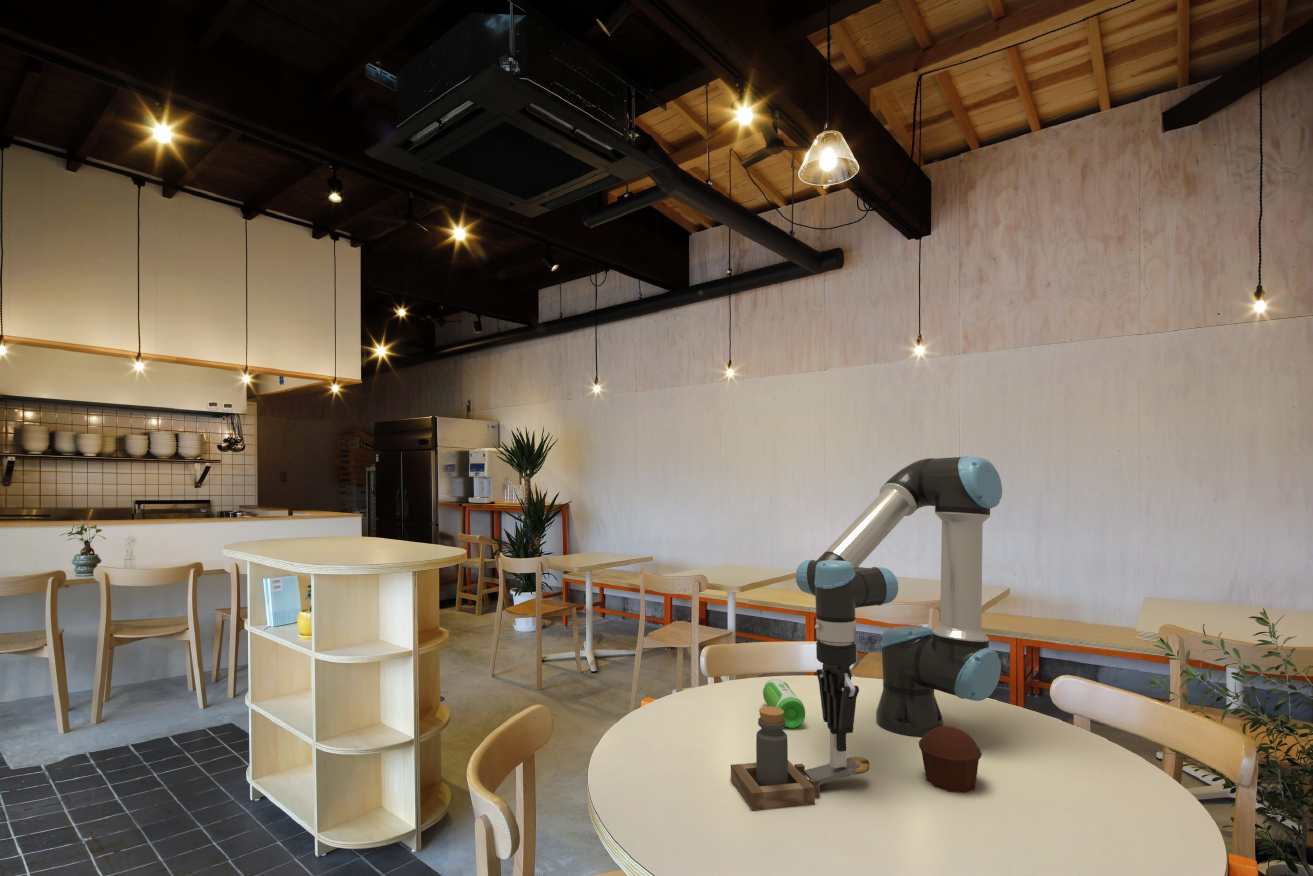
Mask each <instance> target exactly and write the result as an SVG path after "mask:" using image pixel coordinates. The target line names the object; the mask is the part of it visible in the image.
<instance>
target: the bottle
mask: <svg viewBox="0 0 1313 876" xmlns="http://www.w3.org/2000/svg"><path fill="white" fill-rule="evenodd" d="M758 712H759V716H760V717H758V719H757V724H758V726H759V727H760V729H759V730H758V731H756V735H755V736H756V739H755V740H756V742H755V743H756V745H755V746H756V747H755V748H756V749H755V754H756V758H755V759H756V762H755V763H756V780H757V784H758V786H759V787H760V786H771V785H781V784H788V760H789V757H788V754H789V752H788V751H789V750H788V749H789V748H788V744H789V743H788V734H787V733H786V731H784V730H783V729H784V728H786V726H785V720H784V719H783V716H784V710H783V709H781V708H778V707H770V706H763V707H760V708H759V709H758Z"/></svg>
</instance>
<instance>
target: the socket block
mask: <svg viewBox="0 0 1313 876" xmlns="http://www.w3.org/2000/svg"><path fill="white" fill-rule="evenodd" d="M805 767H806V766H805V764H803V763H795V764H793V763H792V762H791V761H790V760H789V759H788V784H781V785H771V786H760V787H759V786H758V784H757V780H756V762H750V763H749V762H747V763H736V764H734V763H733V764H730V782H731V783H732V784H733V786H734V787H735V789H736V791H737V792H738V793H739V794H740V796H741V797H742V799H743V800H744V802H745V803H746V804H747V806H748V807H749V809H750V810H751V811H752V812H754V811H763V810H775V809H781V808H782V809H783V808H785V809H786V808H792V807H803V806H811V805H816V799H819V798H820V785H819V780H818V779H817V778H811V779H809V781H808V780H807V779H806V778H805V777H804V776H803V775H802V774H801V773H800V772H801V771H803V772H804V770H806V769H805Z"/></svg>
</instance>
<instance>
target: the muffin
mask: <svg viewBox="0 0 1313 876" xmlns="http://www.w3.org/2000/svg"><path fill="white" fill-rule="evenodd" d="M918 747H919V749H920V752H921V757H922V762H923V767H924V774H925V779H926V782H928V783H929V784H931V785H932V786H933V787H934V788H937V789H941V790H943V791H946V792H949V793H960V794H961V793H962V794H966V793H969V792H973V791H975V790H976V783H977V777H978V769H979V768H978V767H979V761H980V759H981V758H982V755H983V753H982V751H981V748H980V746H979V745H978V743H977V742H976V741H975V739H974V738H973V737H972V736H970V735H969V734H968V733H966V732H964V731H963V730H962V729H960V728H957V727H955V726H954V727H953V726H950V725H949V726H947V725H945V726H944V725H943V726H940V727H936V728H933V729H932V730H930V731H928V732H927V733H926V734H925V735H924V736H921V738H920V739H919V741H918Z"/></svg>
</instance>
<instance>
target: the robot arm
mask: <svg viewBox="0 0 1313 876" xmlns="http://www.w3.org/2000/svg"><path fill="white" fill-rule="evenodd" d="M1002 496H1003V485H1002V481H1001V476H1000V474H999V472H998V470H997V469H996V467H995V465H994V464H993V463H992V462H991V461H989V460H988V459H986V458H984V457H980V456H958V457H956V456H955V457H940V458H939V457H938V458H937V457H935V458H932V457H930V458H923V459H919V460H916V461H914V462H912V463H910V464H909V465H907V466H905V467H904V468H902V469H900V470H899V471H897V472H896V473H895V474H894V475H893V476H891V477H890V478H889V479H888V480H887V481H886V482H885V483H883V485H881V487H880V489H879V495H878V496H877V497H876V498H875V499H874V500H873V501H872V502H871V503H870V504H869V506H868V507H866V508H865V509H864V511H863V512H862V513H861V514H860V515H859V516H858V517H857V518H856V519H855V520H854V521H853V522H852V523H851V524H850V525H849V526H848V527H847V529H845V530H844V532H842V534H840V536H838V538H837V539H836V540H835V541H834V542H833V543H832V544H830V546H829V547H828V548H827V549H826V550H825V551H824V552H823V553H822V554H821V555H820V556H819V557H818V558H817V559H816V560H815V559H810V560H805V561H804V560H803V561H802V562H801V563H800V564H799V565H798V566H797V568H796V572H795V581H796V584H797V587H798V588H799V589H800V590H801V592H803V593H806V594H808V595H811V596H815V598H814V599H815V618H816V619H815V623H816V624H814V629H815V630H816V638H817V641H816V647H815V649H816V659H817V661H818V662H820V663H821V664H822V668H821V669H816V671H815V672H816V675H817V676H816V677H817V680H818V685H819V694H820V702H821V704H820V705H821V712H822V720H823V722H824V723H827V725H826V726H827V728H828V729H829V764H830V765H831V766H832V767H833V768H840V767H847V758H848V757H847V755H848V753H847V734H852V733H854V725H855V714H856V704H857V697H858V694H859V692H860V688H859V686H858V685H854V683H853V681H852V673H851V666H852V665H855V664H856V662H857V645H856V644H855V641H857V633H856V631H857V629H856V627H857V625H856V622H857V621H856V609H858V608H864V607H865V608H866V607H872V606H873V607H875V606H878V607H879V606H880V607H881V606H883V605H885V604H890V603H891V602H893V601H894V600H895V599H896V598H897V596H898V594H899V581H898V579H897V576H896V575H895V573H894V572H892V570H890V569H889V568H886V567H881V566H880V567H879V566H873V567H862V566H861V564H862V563H863V562H864V561H865V560H866V559H867V558H868V557H869V556H870V554H872V552H873V551H874V550H875V549H876V548H877V547H878V546H879V545H880V544H881V542H883V541H884V539H885V538H886V537H887V536H888V535H889V534H890V533H891V532H892V530H894V528H896V526H898V524H899V523H900V522H901V521H902V520H903V519H904V517H908V516H911V515H913V514H914V513H915V512H916V511H917V510H918V509H921V508H924V507H934V514H935V515H936V516H937V517H938V518H939V519H940V520H941V547H940V548H941V549H940V550H941V551H940V553H941V555H940V556H941V557H940V599H939V600H940V603H939V604H940V609H939V625H938V626H937V627H936V628H935V629H934V630H933V629H932V628H930V627H927V626H912V625H911V626H895V627H890V628H887V629H885V630H884V631H883V632H882V637H881V638H882V641H881V643H882V645H881V654H882V655H881V661H882V662H881V663H882V687H883V688H882V692H881V696H880V699H879V701H878V704H877V708H876V711H875V712H876V713H875V714H876V719H875V720H876V723H877V724H878V725H879V726H880V727H882V728H884V729H885V730H888V731H890V732H893V733H897V734H901V735H907V736H912V737H923V736H924V735H925V734H926V733H927V732H928V731H930V730H932V729H933V728H936V727H940V726H944V719H943V716H942V713H941V709H940V707H939V704H938V702H937V699H936V695H935V691H939V692H941V693H945V694H948V695H952V696H955V697H957V698H959V699H963V700H964V699H966V700H970V701H972V702H973V701H974V702H980V701H984V700H986V699H987V698H989V697H990V696H991V695H992V694H993V692H994V691H995V689H996V688H997V686H998V683H999V680H1000V676H1001V671H1002V669H1001V668H1002V664H1001V659H1000V658H999V655H998V653H997V651H995V650H993V649H992V648H990V639H989V637H988V636H987V634H986V633H984V632H983V630H982V621H983V620H982V619H983V618H982V614H983V613H982V609H983V608H982V605H983V602H982V598H983V596H982V595H983V530H984V529H983V526H984V525H983V524H984V523H985V522H986V521H987V520H988V519H989V518H990V517H991V509H994V508H995V507H997V506H998V505H999V504H1000V502H1001V501H1000V500H1001V499H1002Z"/></svg>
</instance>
